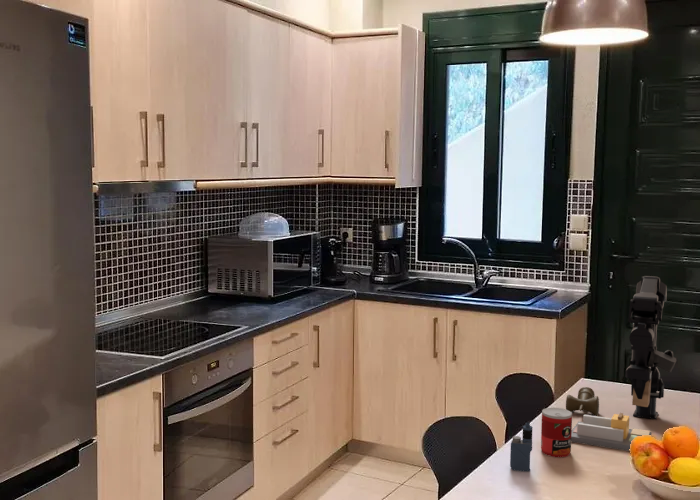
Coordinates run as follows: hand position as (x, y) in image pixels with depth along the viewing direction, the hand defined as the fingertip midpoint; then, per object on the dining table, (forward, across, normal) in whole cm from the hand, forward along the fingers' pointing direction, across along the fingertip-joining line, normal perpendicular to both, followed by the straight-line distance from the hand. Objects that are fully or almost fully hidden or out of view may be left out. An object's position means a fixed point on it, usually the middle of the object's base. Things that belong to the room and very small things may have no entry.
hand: (641, 396), depth 221 cm
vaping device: (+12, -38, +23) cm, 46 cm away
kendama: (+12, +19, +19) cm, 29 cm away
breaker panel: (+12, -5, +7) cm, 15 cm away
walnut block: (+2, 0, 0) cm, 2 cm away
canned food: (+12, -22, +18) cm, 31 cm away
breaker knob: (+10, -5, +5) cm, 12 cm away
